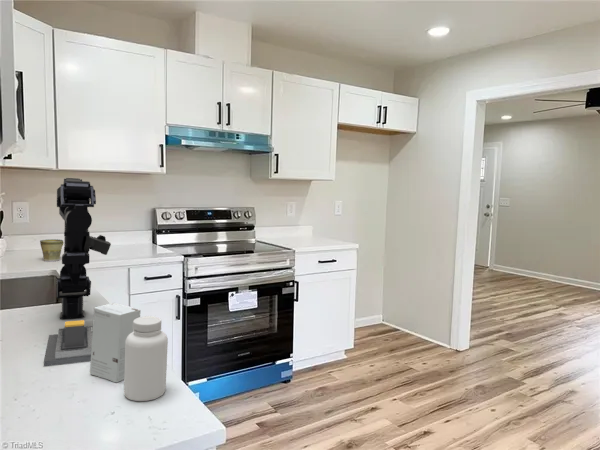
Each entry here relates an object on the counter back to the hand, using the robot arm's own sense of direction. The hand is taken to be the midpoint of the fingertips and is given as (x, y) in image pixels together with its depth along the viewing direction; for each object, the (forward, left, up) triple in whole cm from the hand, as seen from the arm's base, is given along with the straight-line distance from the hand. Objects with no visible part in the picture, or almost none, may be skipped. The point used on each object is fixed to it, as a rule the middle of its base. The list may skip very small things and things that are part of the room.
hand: (75, 284), depth 119 cm
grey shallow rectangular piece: (+14, 0, -13) cm, 19 cm away
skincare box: (+32, +8, -13) cm, 36 cm away
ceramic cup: (-115, -11, -13) cm, 116 cm away
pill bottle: (+43, +13, -13) cm, 47 cm away
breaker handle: (+19, 0, -12) cm, 22 cm away
